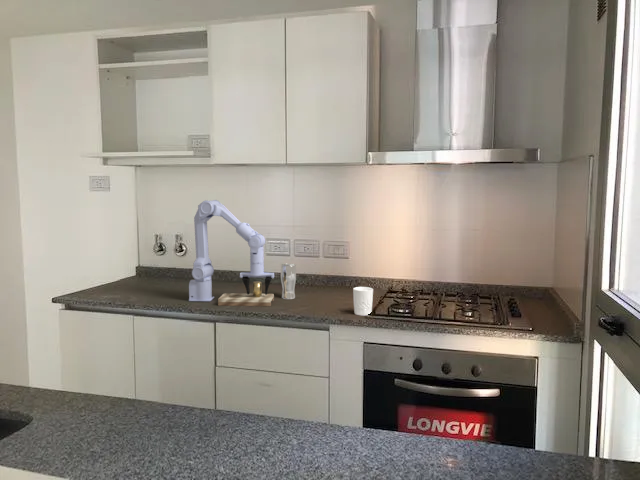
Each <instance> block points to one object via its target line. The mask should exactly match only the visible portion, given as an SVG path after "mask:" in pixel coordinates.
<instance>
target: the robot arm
mask: <svg viewBox="0 0 640 480" xmlns="http://www.w3.org/2000/svg"><path fill="white" fill-rule="evenodd" d="M214 216H215V217H221V218H222V219H224V220H225V221H227V223H229V224H230V225H231V226H233V227H234V228H235V233H236V234H238V235H239V236H240V237H241V238H242V239H243V240H244V241H245V242H247V244H248V246H249V249H250V251H249V254H250V256H249V258H250V259H249V261H250V262H249V263H250V265H249V266H250V267H249V268H250V270H249V271H248V272H244V271H243V272H240V273H239V278H241V280H242V282H243V284H244V286H245V290H246V293H247V294H251V292H250V291H251V290H250V279H251V278H264V284H265V285H264V288H265V290H264V294H265V295H267V294H268V291H269V287H270V284H271V282H272V280H273V279H274V278H275V272H267V271H265V268H264V267H265V264H264V263H265V259H264V257H265V253H264V251H265V250H264V248H265V247H264V246H265V245H266V237H265V236H264V235H263V234H261V233H259V232H258V231H257V230H255V229H253V228H252V227H251V224H250V223H249V222H244V221H243V222H242V221H241V220H239V219H238V218H237V216H235V215H234V214H233V213H232V212H231V211H230V210H229V209H228V208H227V207H226V206H225V204H223V203H221V202H220V201H219V200H217V199H212V200H211V199H210V200H208V199H207V200H206V199H205V200H203V201H202V202H201V203H199V204H198V205H197V209H196V212H195V215H194V216H193V217H194V218H193V223H194V236H195V240H194V241H195V260H194V262H193V265H192V266H193V268H192V270H191V276H192V278H193V279H190V280H189V283H188V297H189V298H188V302H212V301H213V300H214V299H215V296H213V292H212V290H213V287H212V284H213V283H212V282H213V281H212V276H213V275H214V272H215V269H214V266H213V265H212V260H211V259H210V258H211V257H210V256H209V255H210V254H209V253H210V252H209V234H208V221H210V220H211V219H212V218H213V217H214Z"/></svg>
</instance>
